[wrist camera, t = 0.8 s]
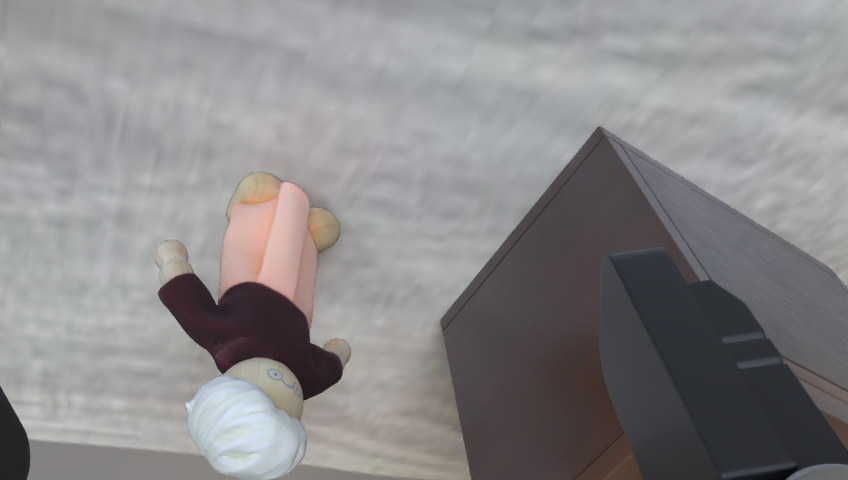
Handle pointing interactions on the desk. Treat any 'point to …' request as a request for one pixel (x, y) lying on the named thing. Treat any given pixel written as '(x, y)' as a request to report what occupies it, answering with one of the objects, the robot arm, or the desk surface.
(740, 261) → the rack
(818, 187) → the desk surface
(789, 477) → the robot arm
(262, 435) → the grandmother figurine
